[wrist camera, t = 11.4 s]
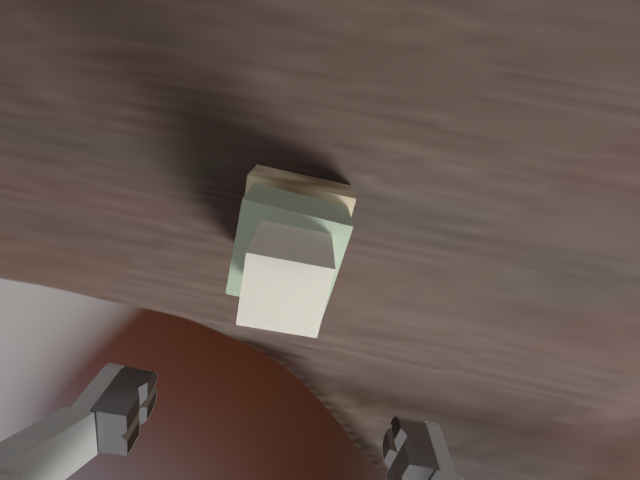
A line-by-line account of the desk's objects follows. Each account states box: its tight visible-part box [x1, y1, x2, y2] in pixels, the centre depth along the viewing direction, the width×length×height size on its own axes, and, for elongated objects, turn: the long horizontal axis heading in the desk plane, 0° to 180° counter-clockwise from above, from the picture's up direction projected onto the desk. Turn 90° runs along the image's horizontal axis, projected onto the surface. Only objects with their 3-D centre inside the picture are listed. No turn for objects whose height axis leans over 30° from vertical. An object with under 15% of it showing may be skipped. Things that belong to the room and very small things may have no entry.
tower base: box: [245, 165, 356, 216], centre depth 26 cm, size 8×8×4 cm
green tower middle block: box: [226, 182, 353, 315], centre depth 23 cm, size 7×7×4 cm
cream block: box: [236, 220, 336, 338], centre depth 19 cm, size 4×4×4 cm
